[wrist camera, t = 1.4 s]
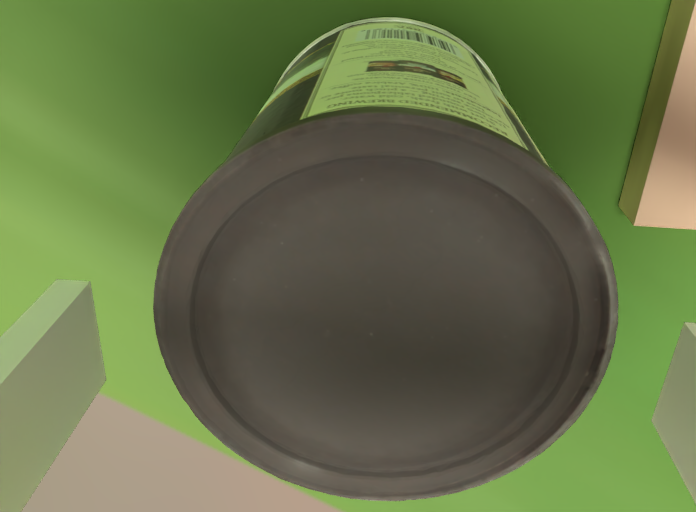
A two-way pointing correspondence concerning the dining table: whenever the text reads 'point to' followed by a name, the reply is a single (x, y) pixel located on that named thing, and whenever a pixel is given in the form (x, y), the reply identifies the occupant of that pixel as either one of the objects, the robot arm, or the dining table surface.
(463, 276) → the coffee can
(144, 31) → the dining table surface
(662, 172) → the shelf board
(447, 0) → the dining table surface
